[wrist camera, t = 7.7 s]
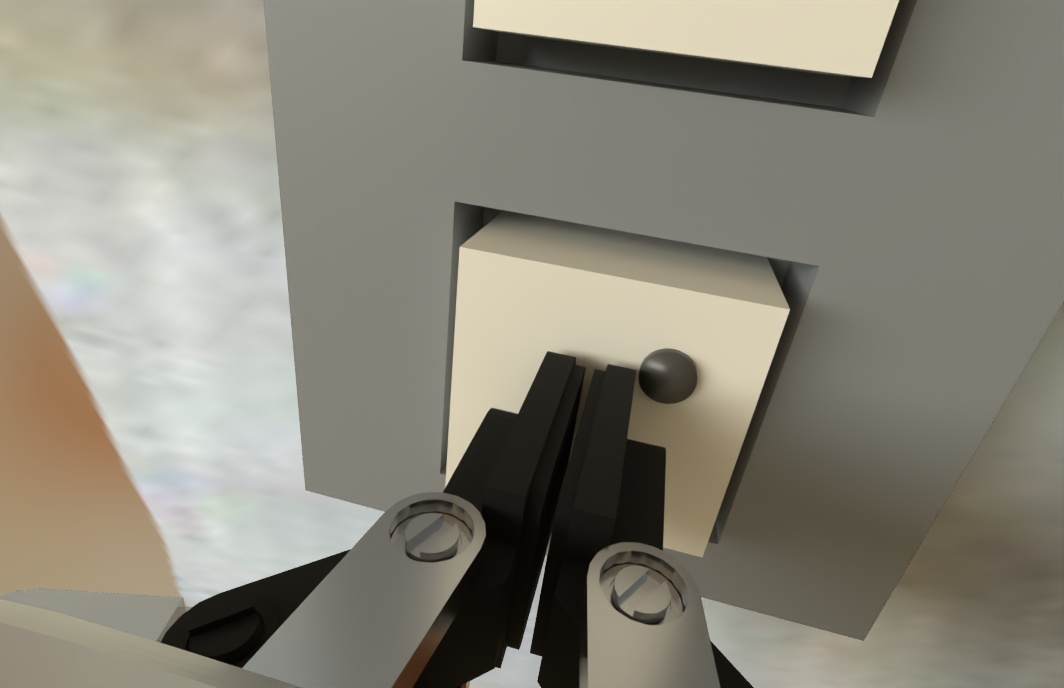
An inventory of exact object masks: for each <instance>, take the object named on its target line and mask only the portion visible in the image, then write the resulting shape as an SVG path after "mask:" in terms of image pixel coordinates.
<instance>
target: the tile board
mask: <svg viewBox="0 0 1064 688" xmlns="http://www.w3.org/2000/svg"><path fill="white" fill-rule="evenodd" d="M474 1H475V0H264V12H265V23H266V35H267V47H268V58H269V70H270V82H271V93H272V105H273V116H274V128H275V140H276V151H277V163H278V175H279V186H280V198H281V210H282V221H283V233H284V245H285V256H286V268H287V279H288V291H289V303H290V314H291V326H292V338H293V349H294V361H295V373H296V384H297V396H298V408H299V419H300V431H301V442H302V454H303V466H304V477H305V489H306V490H307V491H311V492H314V493H318V494H322V495H326V496H329V497H333V498H337V499H340V500H344V501H348V502H351V503H355V504H359V505H363V506H366V507H370V508H374V509H377V510H381V511H385V512H386V511H387V510H388V509H389V508H390V507H392V506H393V505H394V504H395V503H397V502H398V501H400V500H402V499H404V498H407V497H409V496H411V495H415V494H420V493H426V492H443V491H444V489H445V483H446V466H447V449H448V432H449V416H450V399H451V382H452V366H453V349H454V332H455V315H456V299H457V282H458V265H459V248H460V246H461V245H462V244H464V243H465V242H466V241H467V240H469V239H470V238H471V237H472V236H473V235H475V234H476V233H477V232H478V231H480V230H481V229H482V228H483V227H485V226H486V225H487V224H488V223H489V222H491V221H492V220H493V219H494V218H496V217H497V216H498V215H499V214H500V213H502V212H503V211H504V210H505V211H511V212H517V213H522V214H528V215H534V216H539V217H545V218H551V219H556V220H562V221H567V222H573V223H579V224H584V225H590V226H596V227H601V228H607V229H613V230H618V231H624V232H630V233H635V234H641V235H646V236H652V237H658V238H663V239H669V240H675V241H680V242H686V243H692V244H697V245H703V246H708V247H714V248H720V249H725V250H731V251H737V252H742V253H748V254H754V255H759V256H765V257H767V259H768V261H769V263H770V265H771V268H772V270H773V272H774V274H775V277H776V279H777V281H778V283H779V286H780V288H781V290H782V292H783V295H784V297H785V299H786V301H787V304H788V306H789V308H790V311H789V314H788V317H787V320H786V323H785V325H784V328H783V331H782V334H781V337H780V340H779V342H778V345H777V348H776V351H775V354H774V357H773V359H772V362H771V365H770V368H769V371H768V373H767V376H766V379H765V382H764V385H763V388H762V390H761V393H760V396H759V399H758V402H757V405H756V407H755V410H754V413H753V416H752V419H751V422H750V424H749V427H748V430H747V433H746V436H745V439H744V441H743V444H742V447H741V450H740V453H739V456H738V458H737V461H736V464H735V467H734V470H733V473H732V475H731V478H730V481H729V484H728V487H727V489H726V492H725V495H724V498H723V501H722V504H721V506H720V509H719V512H718V515H717V518H716V521H715V523H714V526H713V529H712V532H711V535H710V538H709V540H708V543H707V546H706V549H705V552H704V555H703V557H698V556H695V555H691V554H687V553H683V552H679V551H675V550H671V549H668V548H664V547H663V551H664V552H666V553H668V554H670V555H671V556H672V557H674V558H675V559H676V560H677V561H679V562H680V563H681V564H682V565H684V567H685V568H686V569H687V571H688V572H689V573H690V574H691V576H692V577H693V578H694V580H695V583H696V585H697V588H698V590H699V593H700V597H704V598H707V599H711V600H715V601H718V602H722V603H726V604H729V605H733V606H737V607H741V608H744V609H748V610H752V611H755V612H759V613H763V614H767V615H770V616H774V617H778V618H781V619H785V620H789V621H792V622H796V623H800V624H804V625H807V626H811V627H815V628H818V629H822V630H826V631H830V632H833V633H837V634H841V635H844V636H848V637H852V638H855V639H859V640H863V641H864V639H865V638H866V636H867V634H868V632H869V631H870V629H871V627H872V626H873V624H874V622H875V621H876V619H877V617H878V615H879V614H880V612H881V610H882V609H883V607H884V605H885V604H886V602H887V600H888V599H889V597H890V595H891V593H892V592H893V590H894V588H895V587H896V585H897V583H898V582H899V580H900V578H901V576H902V575H903V573H904V571H905V570H906V568H907V566H908V565H909V563H910V561H911V560H912V558H913V556H914V554H915V553H916V551H917V549H918V548H919V546H920V544H921V543H922V541H923V539H924V537H925V536H926V534H927V532H928V531H929V529H930V527H931V526H932V524H933V522H934V521H935V519H936V517H937V515H938V514H939V512H940V510H941V509H942V507H943V505H944V504H945V502H946V500H947V498H948V497H949V495H950V493H951V492H952V490H953V488H954V487H955V485H956V483H957V482H958V480H959V478H960V476H961V475H962V473H963V471H964V470H965V468H966V466H967V465H968V463H969V461H970V459H971V458H972V456H973V454H974V453H975V451H976V449H977V448H978V446H979V444H980V443H981V441H982V439H983V437H984V436H985V434H986V432H987V431H988V429H989V427H990V426H991V424H992V422H993V420H994V419H995V417H996V415H997V414H998V412H999V410H1000V409H1001V407H1002V405H1003V404H1004V402H1005V400H1006V398H1007V397H1008V395H1009V393H1010V392H1011V390H1012V388H1013V387H1014V385H1015V383H1016V381H1017V380H1018V378H1019V376H1020V375H1021V373H1022V371H1023V370H1024V368H1025V366H1026V365H1027V363H1028V361H1029V359H1030V358H1031V356H1032V354H1033V353H1034V351H1035V349H1036V348H1037V346H1038V344H1039V342H1040V341H1041V339H1042V337H1043V336H1044V334H1045V332H1046V331H1047V329H1048V327H1049V326H1050V324H1051V322H1052V320H1053V319H1054V317H1055V315H1056V314H1057V312H1058V310H1059V309H1060V307H1061V305H1062V303H1063V302H1064V0H899V2H898V5H897V8H896V11H895V14H894V16H893V19H892V22H891V25H890V28H889V31H888V33H887V36H886V39H885V42H884V45H883V47H882V50H881V53H880V56H879V59H878V62H877V64H876V67H875V70H874V73H873V76H872V78H866V77H851V76H836V75H822V74H814V73H806V72H799V71H791V70H783V69H775V68H768V67H760V66H752V65H744V64H736V63H729V62H721V61H713V60H705V59H697V58H690V57H682V56H674V55H666V54H658V53H651V52H643V51H635V50H627V49H619V48H612V47H604V46H596V45H588V44H580V43H573V42H565V41H557V40H549V39H542V38H534V37H526V36H519V35H514V34H508V33H503V32H497V31H492V30H487V29H481V28H476V27H473V18H474ZM550 539H551V537H550ZM549 544H550V540H549ZM549 544H548V547H547V551H546V555H548V550H549Z"/></svg>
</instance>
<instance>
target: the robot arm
mask: <svg viewBox="0 0 1064 688" xmlns="http://www.w3.org/2000/svg"><path fill="white" fill-rule="evenodd" d="M575 364H576V357H573V356H568V355H564V354H559V353H554V352H550V351H547V353H546V355H545V357H544V359H543V361H542V364H541V366H540V368H539V370H538V372H537V374H536V376H535V379H534V381H533V383H532V385H531V387H530V389H529V391H528V394H527V396H526V398H525V400H524V402H523V404H522V406H521V409H520V411H519V413H518V414H517V413H513V412H509V411H504V410H500V409H496V408H490V409H489V411H488V412H487V414H486V416H485V417H484V419H483V421H482V423H481V425H480V426H479V428H478V430H477V432H476V434H475V435H474V437H473V439H472V441H471V443H470V444H469V446H468V448H467V450H466V452H465V453H464V455H463V457H462V459H461V461H460V462H459V464H458V466H457V468H456V469H455V471H454V473H453V475H452V477H451V478H450V480H449V482H448V484H447V486H446V487H445V489H444V491H443V492H426V493H420V494H415V495H411V496H409V497H407V498H404V499H402V500H400V501H398V502H397V503H395V504H394V505H393V506H392V507H390V508H389V509H388V510H387V511H386V512H385V513H384V514H383V515H382V516H381V517H380V518H379V520H378V521H377V522H376V523H375V524H374V525H373V526H372V527H371V528H370V529H369V530H368V532H367V533H366V534H365V535H364V536H363V537H362V538H361V539H360V540H359V541H358V542H357V543H356V545H355V546H354V547H353V548H352V549H350V550H347V551H344V552H341V553H338V554H335V555H333V556H330V557H327V558H324V559H321V560H318V561H315V562H312V563H309V564H306V565H303V566H300V567H297V568H294V569H291V570H288V571H285V572H282V573H279V574H276V575H273V576H270V577H267V578H264V579H261V580H258V581H255V582H252V583H249V584H246V585H243V586H240V587H237V588H234V589H231V590H228V591H225V592H222V593H220V594H217V595H215V596H213V597H211V598H208V599H206V600H204V601H202V602H199V603H198V604H196V605H195V606H194V607H186V606H185V604H184V600H183V598H181V597H166V596H165V597H164V596H150V595H135V594H134V595H133V594H119V593H104V592H88V591H73V590H57V589H41V588H39V589H27V590H18V591H15V592H11V593H8V594H5V595H2V596H0V688H469V685H470V681H471V680H473V679H474V678H476V677H478V676H480V675H482V674H484V673H486V672H488V671H490V670H492V669H494V668H495V667H498V668H501V664H502V661H503V658H504V654H505V651H506V648H507V646H508V647H512V648H515V649H518V650H519V649H520V646H521V642H522V639H523V635H524V631H525V628H526V624H527V620H528V617H529V613H530V609H531V606H532V602H533V599H534V595H535V591H536V588H537V584H538V580H539V577H540V573H541V569H542V566H543V562H544V558H545V555H546V551H547V547H548V544H549V540H550V544H549V550H548V555H547V561H546V566H545V572H544V578H543V583H542V589H541V594H540V600H539V605H538V611H537V617H536V622H535V628H534V633H533V639H532V644H531V650H530V653H532V654H535V655H539V656H542V661H541V666H540V671H539V676H538V681H537V682H538V683H539V685H540V686H541V688H753V687H752V685H751V684H750V683H749V682H748V681H747V680H746V679H745V678H744V677H743V676H742V675H741V674H740V672H739V671H738V670H737V669H736V668H735V667H734V666H733V665H732V664H731V663H730V662H729V660H728V659H727V658H726V657H725V656H724V655H723V654H722V653H721V652H720V651H719V650H718V648H717V647H716V646H715V645H714V644H713V643H712V642H711V641H710V638H709V633H708V629H707V624H706V619H705V615H704V610H703V606H702V601H701V597H700V593H699V590H698V588H697V585H696V583H695V580H694V578H693V577H692V576H691V574H690V573H689V572H688V571H687V569H686V568H685V567H684V565H682V564H681V563H680V562H679V561H677V560H676V559H675V558H674V557H672V556H671V555H670V554H668V553H666V552H664V551H663V534H664V504H665V473H666V449H665V447H661V446H656V445H652V444H647V443H643V442H639V441H634V440H630V439H627V435H628V428H629V421H630V414H631V407H632V399H633V392H634V385H635V378H636V370H634V369H630V368H625V367H620V366H616V365H611V364H608V365H607V369H606V371H602V370H598V369H595V370H594V373H593V377H592V380H591V384H590V387H589V391H588V394H587V398H586V402H585V405H584V409H583V412H582V416H581V419H580V423H579V427H578V430H577V434H576V437H575V441H574V444H573V448H572V452H571V455H570V451H571V445H572V440H573V435H574V429H575V424H576V418H577V413H578V407H579V402H580V396H581V391H582V386H583V380H584V375H585V367H584V366H579V365H575ZM569 456H570V459H569ZM550 537H551V539H550Z"/></svg>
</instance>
